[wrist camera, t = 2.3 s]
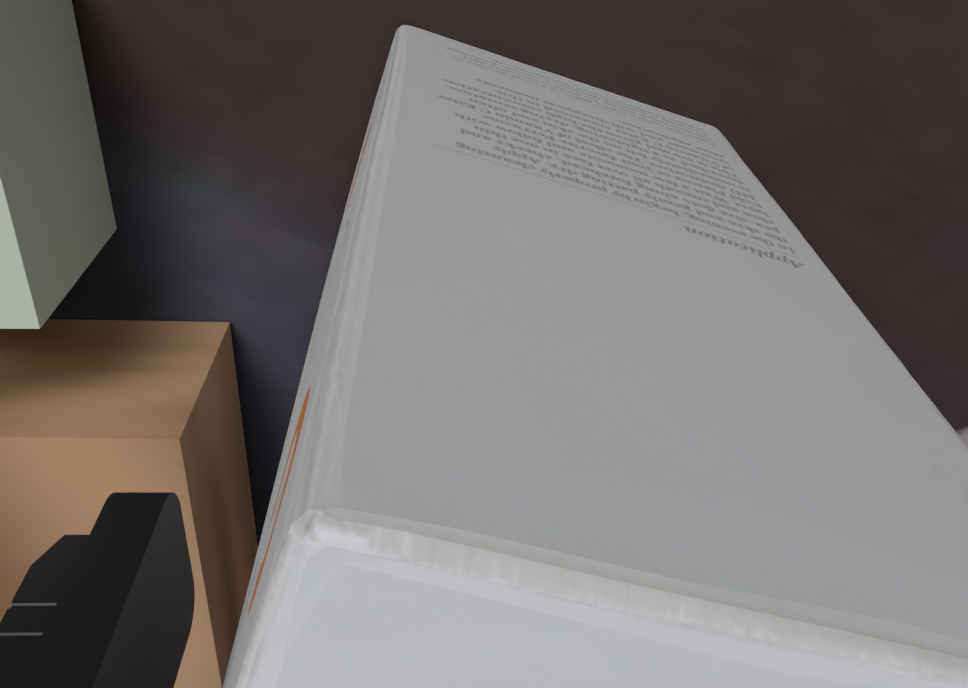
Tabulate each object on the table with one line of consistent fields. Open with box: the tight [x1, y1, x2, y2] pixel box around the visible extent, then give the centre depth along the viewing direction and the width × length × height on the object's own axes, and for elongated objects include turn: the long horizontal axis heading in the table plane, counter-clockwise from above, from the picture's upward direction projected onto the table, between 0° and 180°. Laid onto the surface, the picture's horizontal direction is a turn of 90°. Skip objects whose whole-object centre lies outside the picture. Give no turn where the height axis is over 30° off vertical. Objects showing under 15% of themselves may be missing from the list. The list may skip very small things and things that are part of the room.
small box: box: [222, 25, 968, 688], centre depth 13 cm, size 8×6×13 cm
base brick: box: [0, 319, 258, 688], centre depth 20 cm, size 9×9×4 cm
